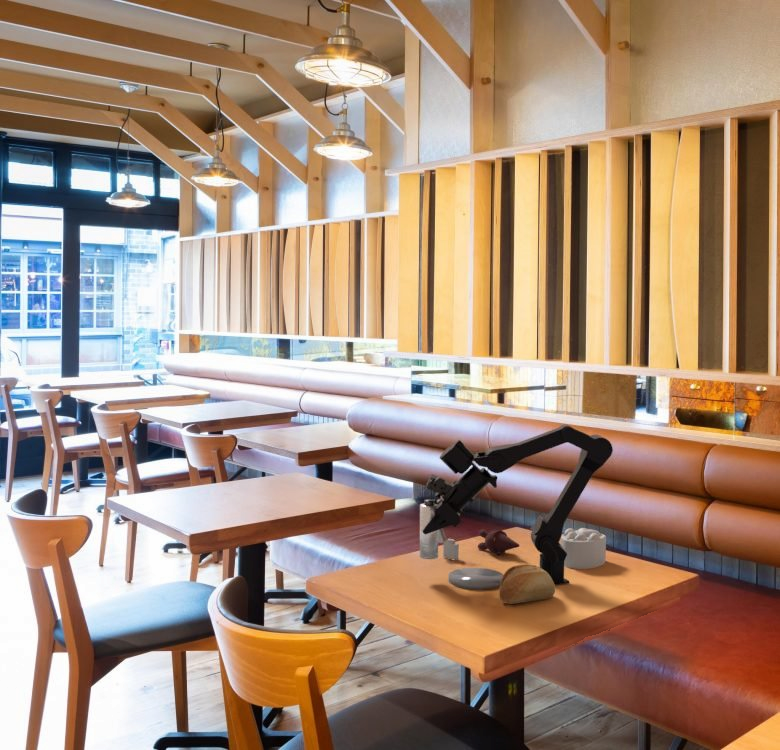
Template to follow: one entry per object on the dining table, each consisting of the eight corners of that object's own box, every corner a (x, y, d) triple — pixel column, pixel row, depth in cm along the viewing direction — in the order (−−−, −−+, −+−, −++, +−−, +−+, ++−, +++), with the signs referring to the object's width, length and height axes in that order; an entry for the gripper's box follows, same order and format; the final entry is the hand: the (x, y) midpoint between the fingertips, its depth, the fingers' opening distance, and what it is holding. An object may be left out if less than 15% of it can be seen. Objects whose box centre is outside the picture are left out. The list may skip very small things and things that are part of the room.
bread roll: (487, 600, 188) (488, 566, 188) (535, 589, 196) (536, 556, 196) (515, 612, 180) (515, 577, 180) (564, 600, 188) (564, 566, 188)
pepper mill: (441, 558, 201) (441, 501, 200) (424, 559, 200) (424, 502, 199) (433, 553, 206) (433, 497, 205) (416, 555, 204) (417, 499, 203)
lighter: (458, 559, 221) (459, 530, 221) (455, 560, 220) (455, 531, 219) (438, 554, 226) (438, 526, 225) (434, 555, 224) (434, 527, 224)
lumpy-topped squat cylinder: (610, 561, 220) (611, 530, 219) (585, 571, 210) (586, 538, 210) (576, 554, 227) (577, 523, 226) (551, 563, 218) (551, 531, 217)
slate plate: (515, 586, 198) (515, 581, 198) (463, 592, 193) (463, 587, 193) (488, 570, 211) (488, 565, 211) (439, 575, 206) (439, 570, 206)
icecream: (529, 533, 224) (489, 528, 235) (511, 531, 219) (471, 525, 231) (526, 559, 222) (486, 552, 234) (508, 557, 218) (468, 550, 229)
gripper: (443, 458, 211) (401, 499, 211) (446, 470, 192) (400, 516, 193) (474, 488, 211) (431, 530, 212) (479, 503, 192) (433, 549, 193)
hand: (423, 530), depth 202 cm, fingers closed on pepper mill, 5 cm apart
